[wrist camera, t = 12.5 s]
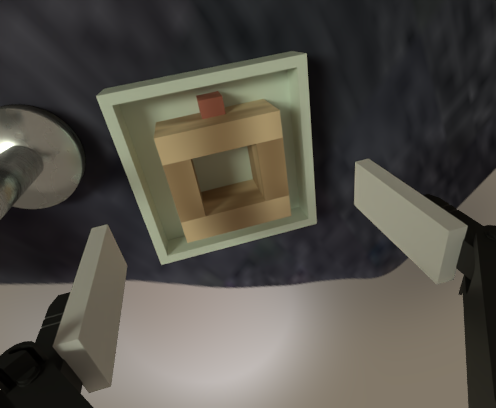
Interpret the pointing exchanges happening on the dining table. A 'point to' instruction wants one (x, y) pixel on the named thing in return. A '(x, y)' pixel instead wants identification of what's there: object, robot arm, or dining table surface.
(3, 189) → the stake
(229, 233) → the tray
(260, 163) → the wooden square frame
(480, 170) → the dining table surface
